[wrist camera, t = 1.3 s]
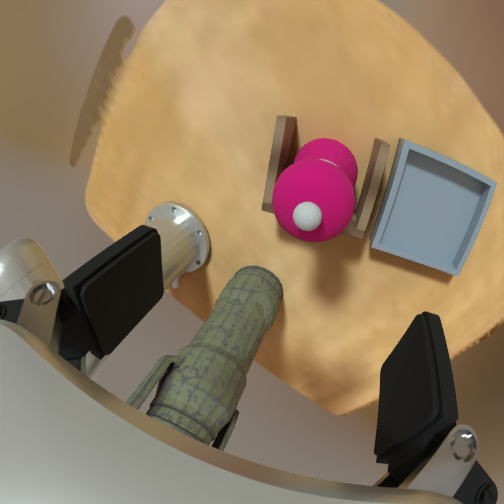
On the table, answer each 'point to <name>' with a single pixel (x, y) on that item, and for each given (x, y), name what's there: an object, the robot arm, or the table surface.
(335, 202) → the pepper mill
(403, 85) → the table surface
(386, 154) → the walnut bay
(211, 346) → the olive piece
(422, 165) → the slate tray
